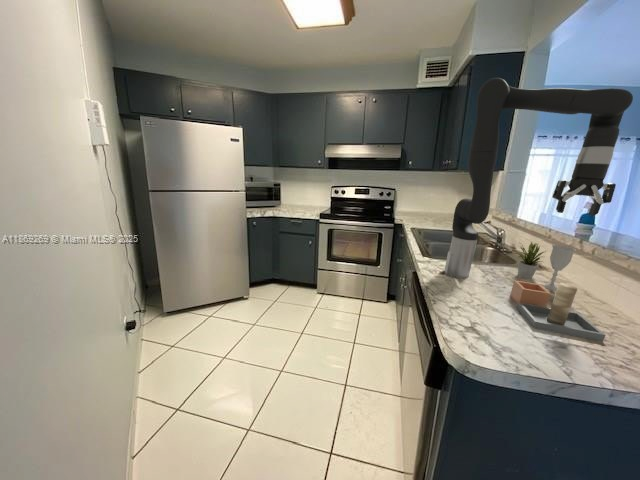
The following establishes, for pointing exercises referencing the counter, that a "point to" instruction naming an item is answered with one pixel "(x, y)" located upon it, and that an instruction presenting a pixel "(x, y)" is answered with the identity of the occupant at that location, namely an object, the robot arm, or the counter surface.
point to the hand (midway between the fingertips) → (575, 214)
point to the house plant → (529, 261)
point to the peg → (561, 304)
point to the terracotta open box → (529, 293)
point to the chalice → (559, 262)
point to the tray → (573, 325)
